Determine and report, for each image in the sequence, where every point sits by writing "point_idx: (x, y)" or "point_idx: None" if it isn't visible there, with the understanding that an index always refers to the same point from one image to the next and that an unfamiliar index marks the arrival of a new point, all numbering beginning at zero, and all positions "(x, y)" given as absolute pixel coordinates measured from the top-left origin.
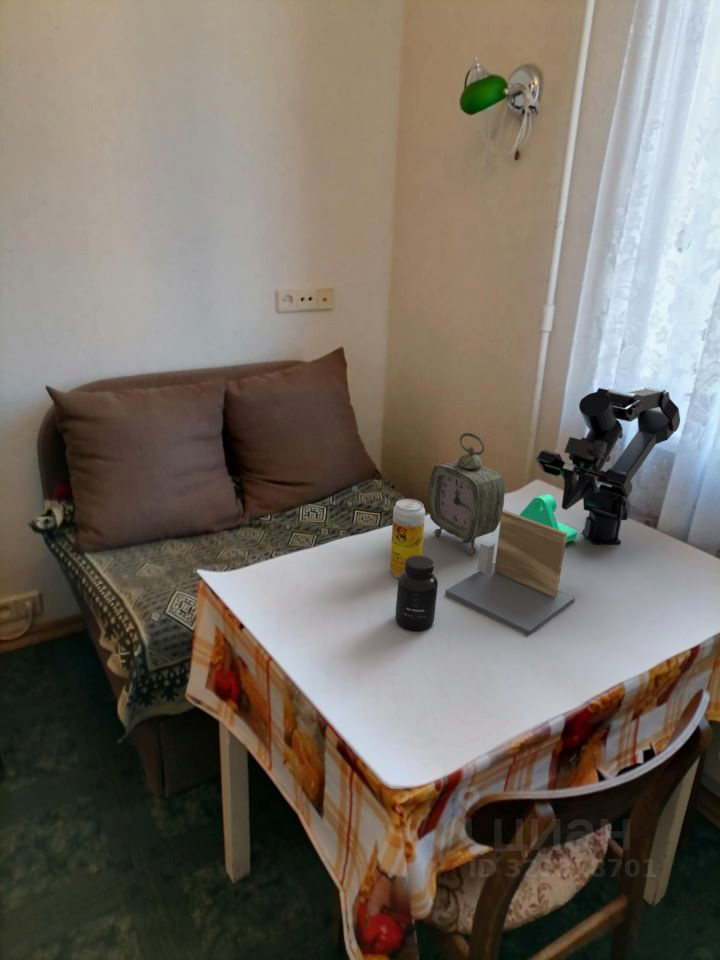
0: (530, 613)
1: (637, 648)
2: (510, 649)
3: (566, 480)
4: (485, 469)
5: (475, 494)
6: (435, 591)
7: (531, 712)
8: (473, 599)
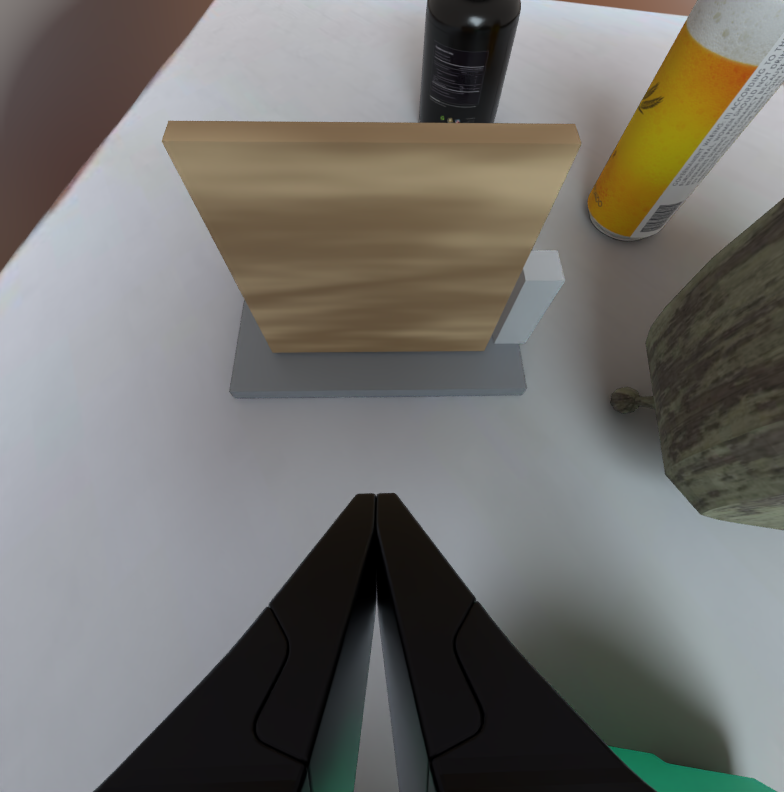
0: None
1: (29, 325)
2: None
3: (579, 779)
4: None
5: None
6: (427, 25)
7: (173, 88)
8: None
